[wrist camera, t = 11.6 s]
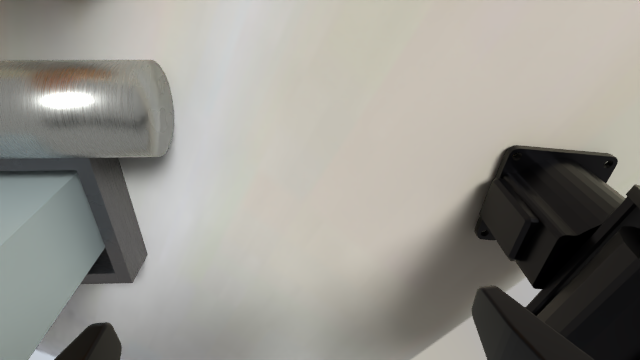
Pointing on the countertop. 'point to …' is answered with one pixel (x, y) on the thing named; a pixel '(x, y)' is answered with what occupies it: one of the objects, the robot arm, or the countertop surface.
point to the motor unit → (89, 138)
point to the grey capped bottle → (41, 253)
